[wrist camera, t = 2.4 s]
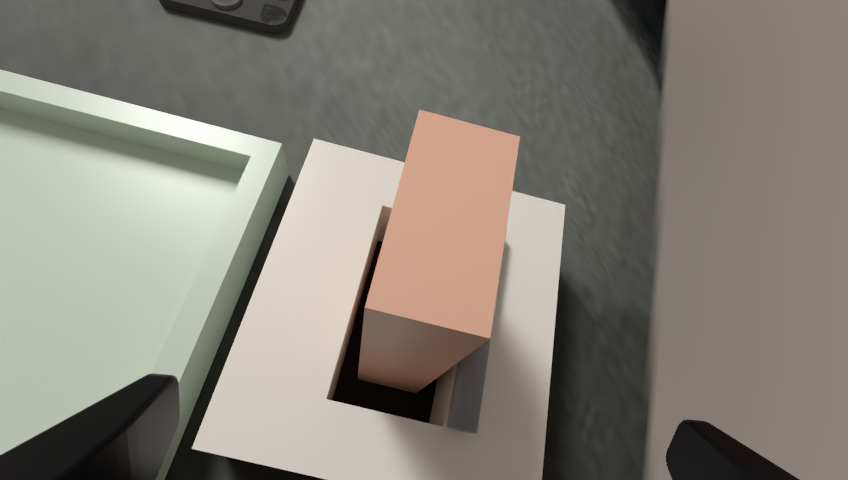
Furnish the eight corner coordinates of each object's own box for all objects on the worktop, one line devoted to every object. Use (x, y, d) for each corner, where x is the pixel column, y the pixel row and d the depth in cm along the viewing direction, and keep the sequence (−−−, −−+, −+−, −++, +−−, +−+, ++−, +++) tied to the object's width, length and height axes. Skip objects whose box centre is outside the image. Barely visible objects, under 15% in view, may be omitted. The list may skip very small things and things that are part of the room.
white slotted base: (503, 512, 17) (550, 533, 13) (221, 447, 17) (180, 449, 13) (535, 238, 22) (575, 193, 18) (319, 182, 22) (312, 123, 18)
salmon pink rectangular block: (416, 393, 19) (490, 338, 9) (357, 379, 19) (364, 307, 9) (439, 282, 21) (519, 136, 11) (386, 268, 21) (419, 109, 11)
